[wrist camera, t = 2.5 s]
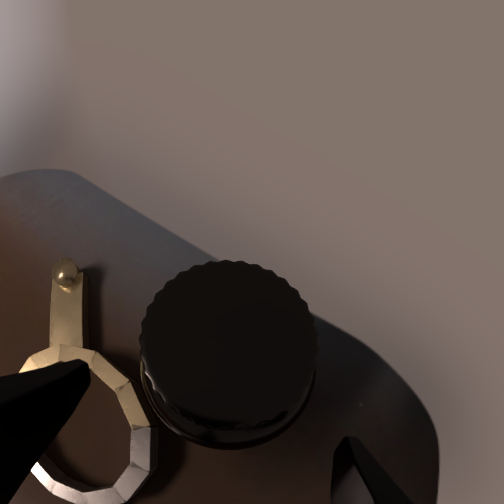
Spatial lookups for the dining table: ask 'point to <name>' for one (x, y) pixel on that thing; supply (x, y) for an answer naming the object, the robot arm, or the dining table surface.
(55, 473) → the segmented ring handle
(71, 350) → the ring with knobbed tab
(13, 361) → the dining table surface
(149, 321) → the supplement bottle
